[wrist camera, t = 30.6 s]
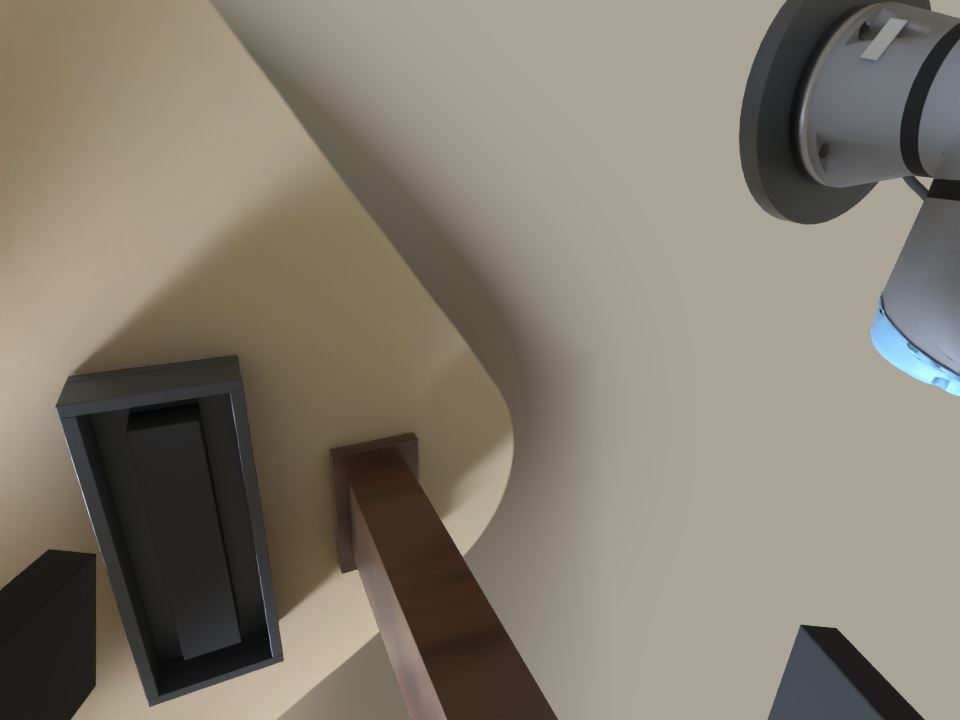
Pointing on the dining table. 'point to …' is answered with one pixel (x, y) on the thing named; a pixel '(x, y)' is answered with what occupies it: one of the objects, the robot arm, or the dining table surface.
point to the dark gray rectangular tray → (125, 528)
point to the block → (425, 592)
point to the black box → (185, 525)
